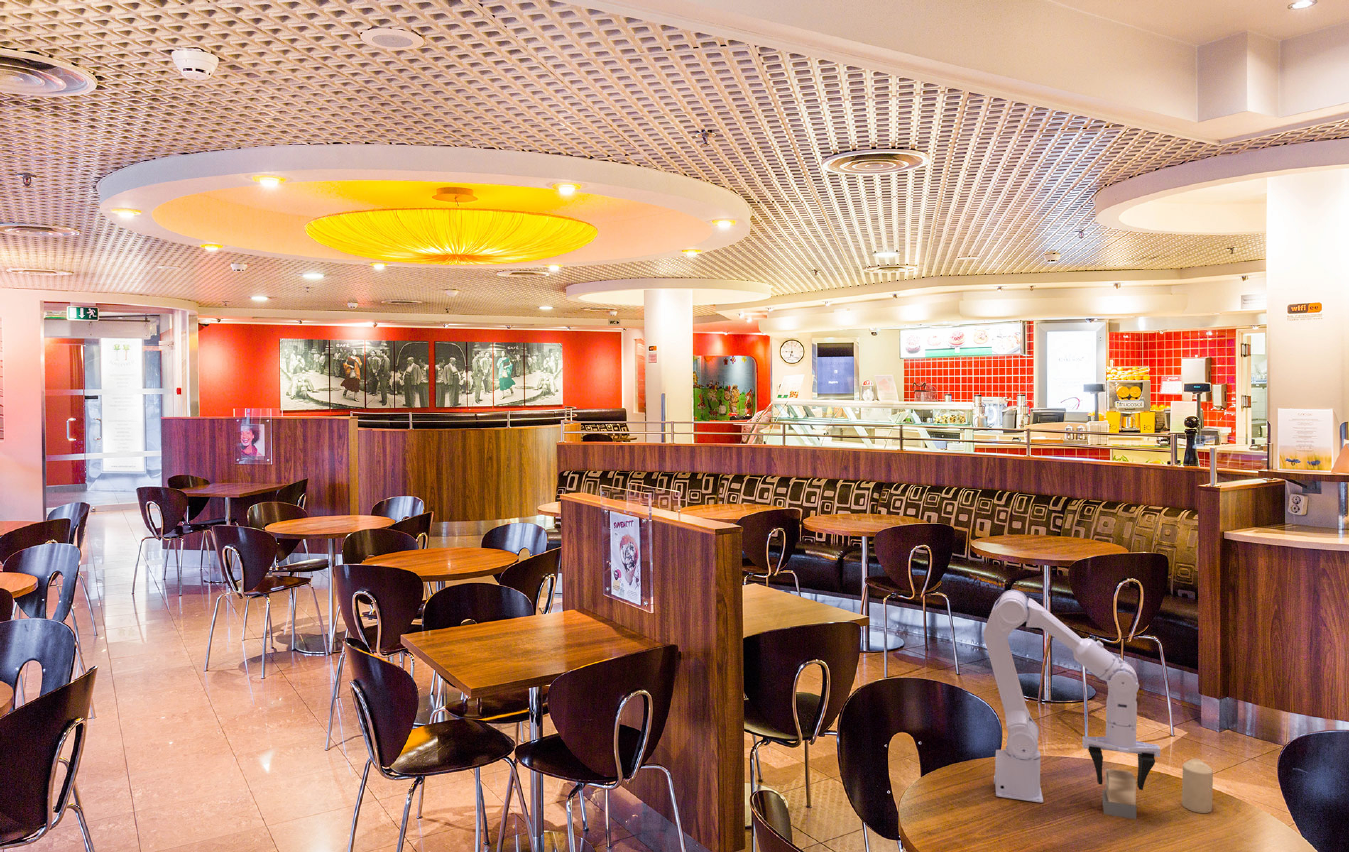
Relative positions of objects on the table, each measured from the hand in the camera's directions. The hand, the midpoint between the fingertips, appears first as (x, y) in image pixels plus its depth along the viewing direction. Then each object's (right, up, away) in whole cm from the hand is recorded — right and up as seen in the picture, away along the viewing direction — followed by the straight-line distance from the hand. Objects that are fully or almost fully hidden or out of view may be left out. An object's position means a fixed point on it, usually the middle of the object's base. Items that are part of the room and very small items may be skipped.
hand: (1119, 785), depth 183 cm
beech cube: (0, -3, 0) cm, 3 cm away
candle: (+17, -6, +2) cm, 18 cm away
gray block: (0, -6, 0) cm, 6 cm away
